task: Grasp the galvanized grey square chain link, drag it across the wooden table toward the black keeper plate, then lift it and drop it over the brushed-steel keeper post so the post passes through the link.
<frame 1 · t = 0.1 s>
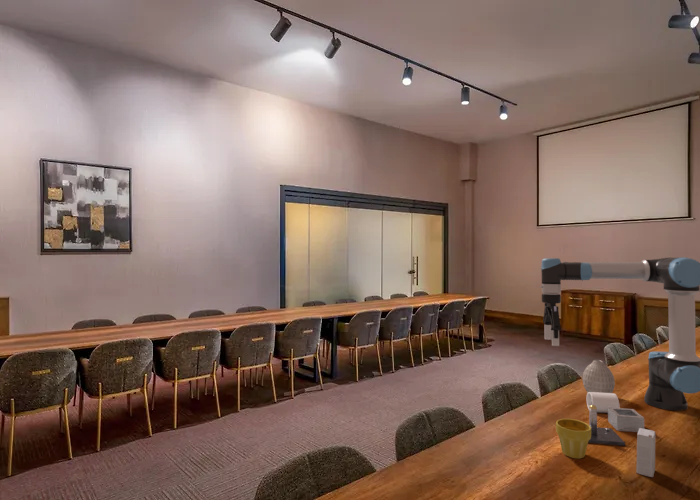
hand: (551, 342, 182), 28 cm above the table, fingers open, 13 cm apart
skincare box: (646, 472, 127), on the table
vase: (598, 397, 194), on the table
mug: (600, 410, 178), on the table
link: (625, 426, 160), on the table
plant pot: (573, 454, 139), on the table
keeper: (593, 436, 152), on the table
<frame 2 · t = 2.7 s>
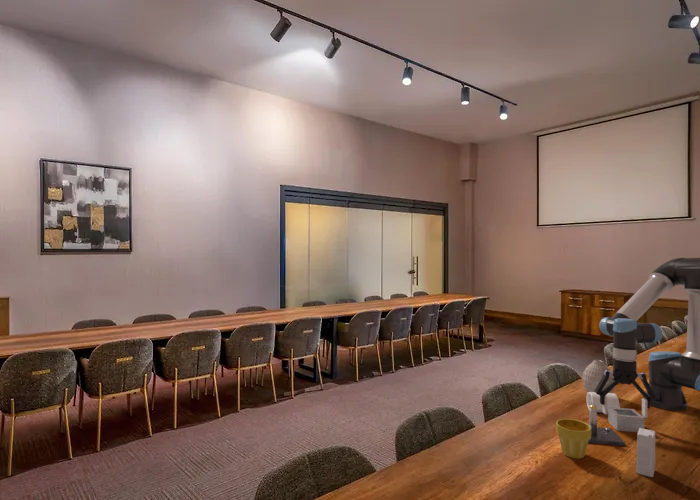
hand: (624, 414, 160), 5 cm above the table, fingers open, 13 cm apart
nothing on the table moved.
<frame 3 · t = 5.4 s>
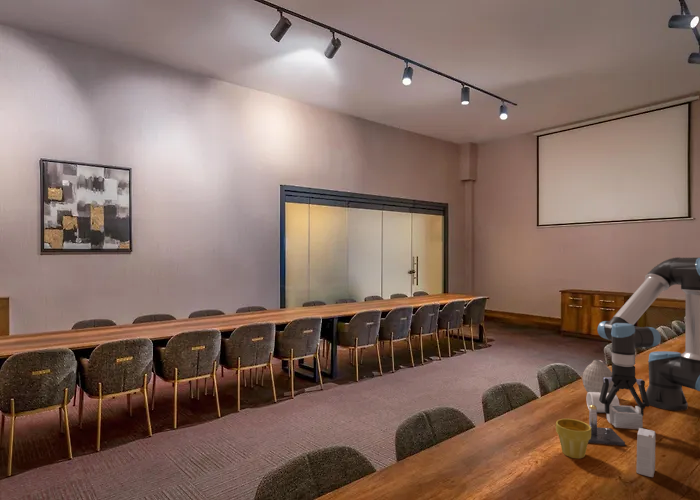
hand: (624, 423, 160), 2 cm above the table, fingers closed on link, 9 cm apart
link: (623, 423, 160), point 1 cm above the table, touching gripper
everything else where it was.
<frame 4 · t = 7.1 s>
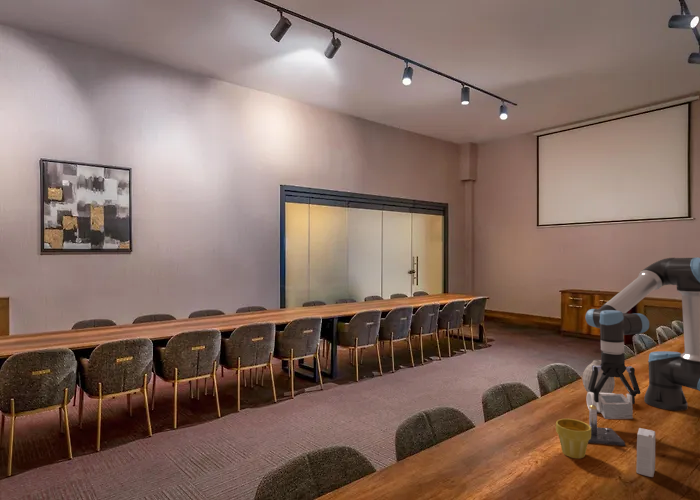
hand: (614, 411, 157), 7 cm above the table, fingers closed on link, 10 cm apart
link: (614, 413, 157), point 6 cm above the table, tilted 9°, touching gripper
everything else where it was.
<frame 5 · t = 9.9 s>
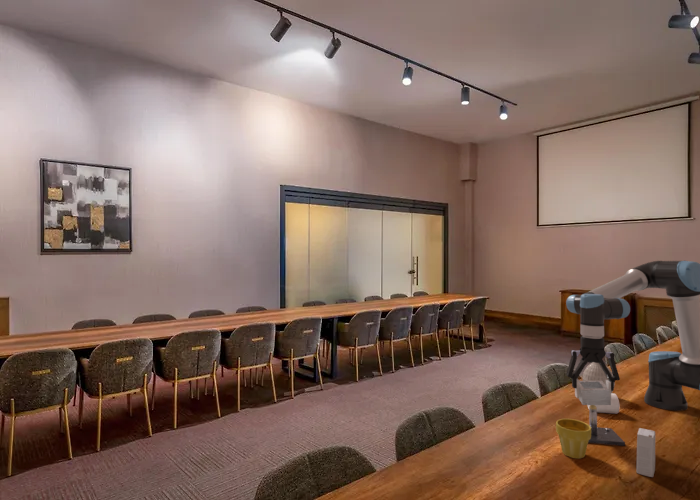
hand: (592, 398, 152), 14 cm above the table, fingers closed on link, 10 cm apart
link: (593, 399, 152), point 13 cm above the table, tilted 7°, touching gripper
everything else where it was.
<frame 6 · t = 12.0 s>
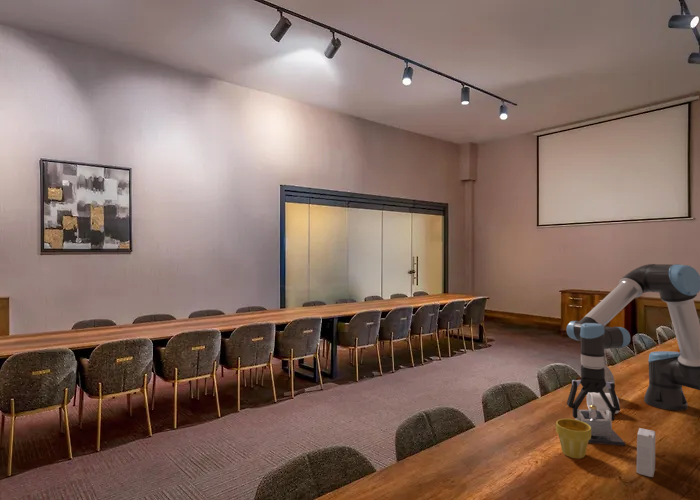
hand: (593, 428, 152), 3 cm above the table, fingers closed on link, 10 cm apart
link: (593, 429, 152), point 2 cm above the table, tilted 7°, touching gripper
everything else where it was.
when the fingers open (3 cm above the table, at t = 12.7 s): link drops 1 cm, resting on keeper.
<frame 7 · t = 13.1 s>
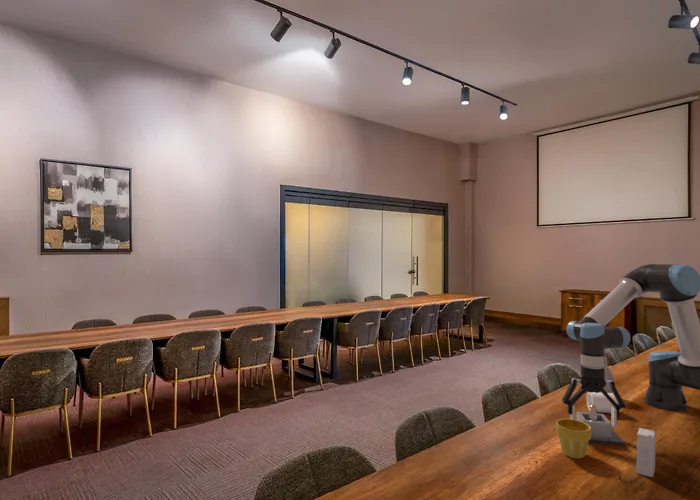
hand: (593, 424, 152), 4 cm above the table, fingers open, 13 cm apart
link: (593, 432, 152), point 1 cm above the table, touching keeper
everything else where it was.
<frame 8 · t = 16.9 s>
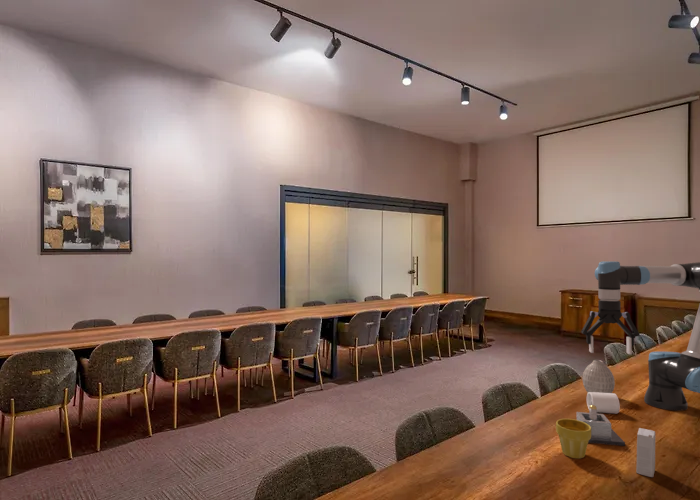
hand: (610, 353, 167), 27 cm above the table, fingers open, 13 cm apart
nothing on the table moved.
at the end: link 0.6 cm off-centre on the keeper, point 1.2 cm above the keeper's base; the gripper is holding nothing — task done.
